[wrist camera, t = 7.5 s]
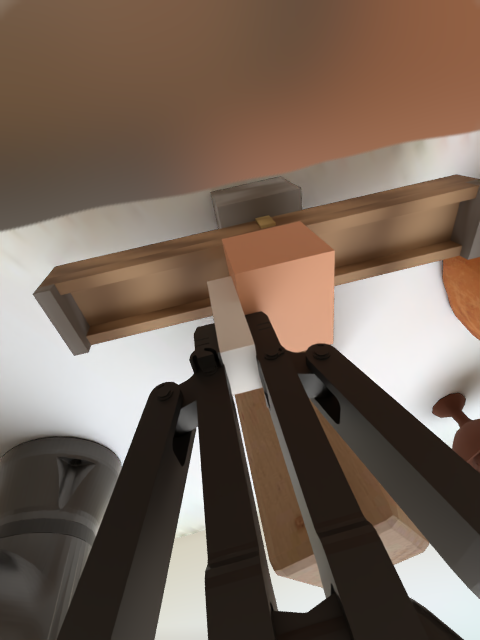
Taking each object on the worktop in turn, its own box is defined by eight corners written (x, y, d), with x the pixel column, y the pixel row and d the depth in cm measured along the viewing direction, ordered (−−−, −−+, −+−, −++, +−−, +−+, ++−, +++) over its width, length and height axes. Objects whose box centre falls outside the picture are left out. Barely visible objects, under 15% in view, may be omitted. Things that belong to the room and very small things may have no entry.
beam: (107, 306, 29) (84, 371, 21) (65, 224, 24) (17, 271, 17) (402, 236, 30) (474, 274, 23) (416, 146, 25) (512, 158, 18)
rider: (235, 308, 23) (252, 363, 18) (219, 233, 19) (234, 274, 14) (298, 293, 23) (333, 343, 18) (293, 215, 20) (334, 250, 14)
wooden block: (227, 374, 37) (267, 580, 20) (294, 328, 34) (401, 517, 18) (270, 410, 42) (329, 595, 26) (331, 372, 40) (438, 549, 24)
